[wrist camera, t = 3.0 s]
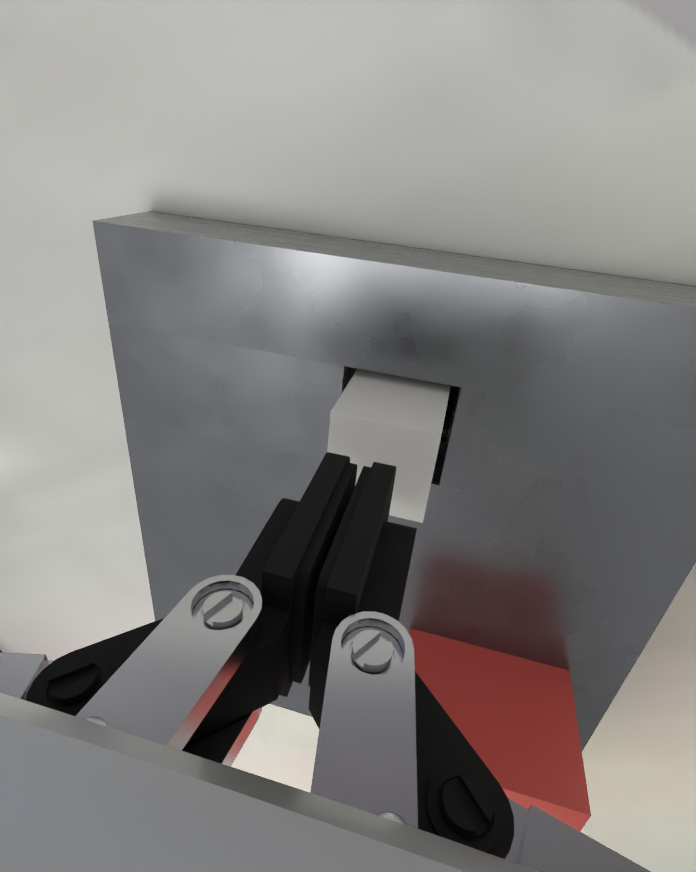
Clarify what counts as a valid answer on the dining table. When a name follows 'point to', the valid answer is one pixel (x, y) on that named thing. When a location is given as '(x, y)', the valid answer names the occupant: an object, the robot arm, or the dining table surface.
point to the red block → (511, 721)
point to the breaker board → (457, 457)
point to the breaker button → (392, 432)
